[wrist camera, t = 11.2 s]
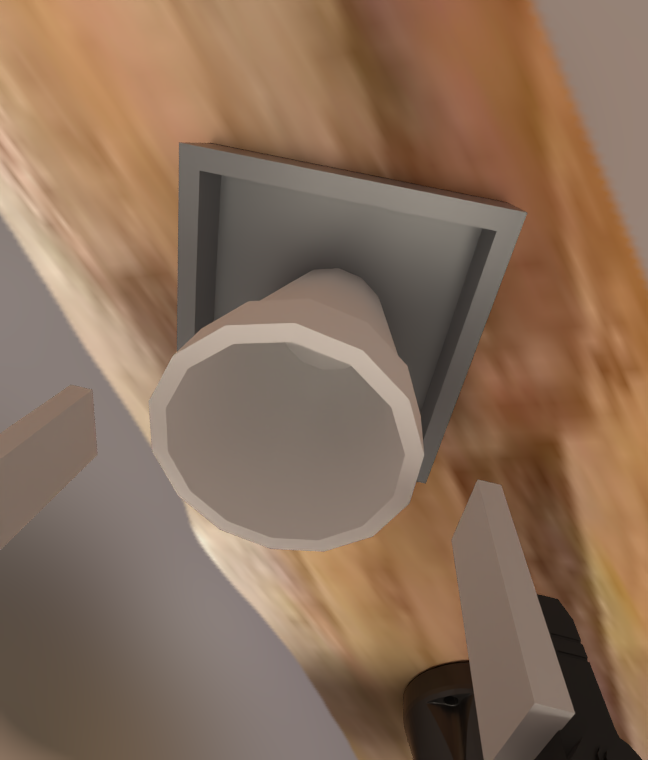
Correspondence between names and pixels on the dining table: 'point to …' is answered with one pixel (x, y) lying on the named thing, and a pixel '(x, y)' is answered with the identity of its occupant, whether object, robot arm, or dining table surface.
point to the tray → (346, 256)
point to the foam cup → (292, 417)
